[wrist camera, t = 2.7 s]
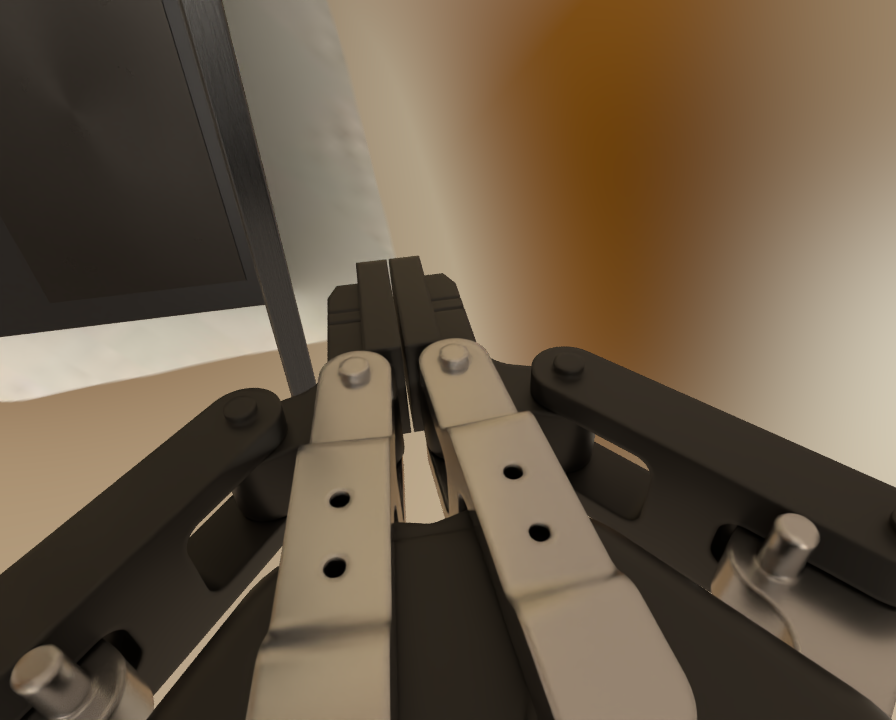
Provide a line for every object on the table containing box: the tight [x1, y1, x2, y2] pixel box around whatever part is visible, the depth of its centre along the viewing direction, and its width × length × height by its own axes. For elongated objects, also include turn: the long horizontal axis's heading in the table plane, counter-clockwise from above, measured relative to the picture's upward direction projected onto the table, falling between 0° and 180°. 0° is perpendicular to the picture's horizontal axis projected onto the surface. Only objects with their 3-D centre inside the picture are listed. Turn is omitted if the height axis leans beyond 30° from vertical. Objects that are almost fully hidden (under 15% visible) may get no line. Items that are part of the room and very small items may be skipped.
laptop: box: [0, 0, 265, 337], centre depth 29 cm, size 20×26×2 cm
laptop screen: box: [178, 0, 316, 397], centre depth 22 cm, size 20×26×1 cm
